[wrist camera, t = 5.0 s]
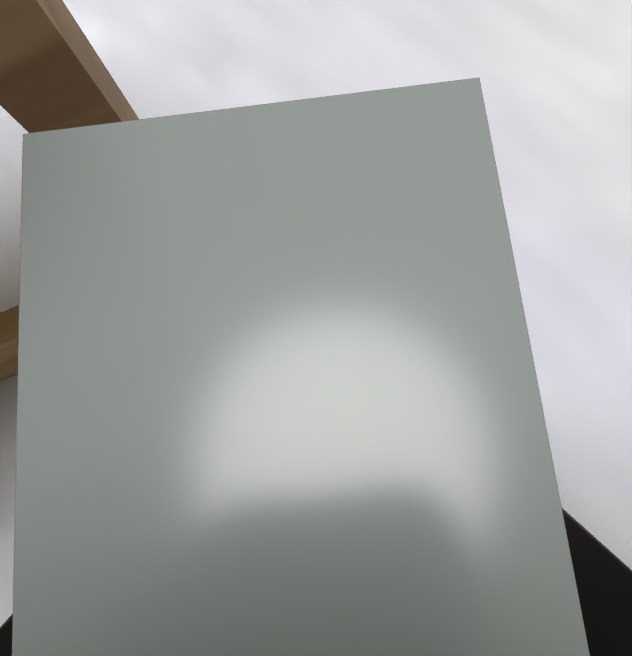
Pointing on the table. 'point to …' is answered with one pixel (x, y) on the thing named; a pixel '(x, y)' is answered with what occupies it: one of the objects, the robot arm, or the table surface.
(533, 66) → the table surface
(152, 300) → the slab
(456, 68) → the table surface
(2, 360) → the wooden frame
